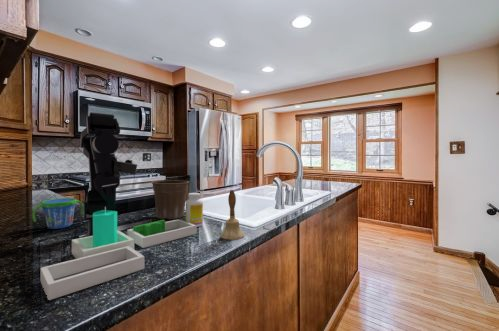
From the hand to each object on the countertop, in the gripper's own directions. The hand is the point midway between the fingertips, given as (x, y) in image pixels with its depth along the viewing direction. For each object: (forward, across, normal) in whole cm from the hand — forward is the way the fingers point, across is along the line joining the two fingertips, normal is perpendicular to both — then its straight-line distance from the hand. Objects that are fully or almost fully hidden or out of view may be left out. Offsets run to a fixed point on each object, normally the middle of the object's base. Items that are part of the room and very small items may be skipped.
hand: (113, 204), depth 75 cm
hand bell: (+18, -10, -34) cm, 40 cm away
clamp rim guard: (+14, 0, -13) cm, 19 cm away
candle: (+11, -8, +4) cm, 14 cm away
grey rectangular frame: (+11, -22, +5) cm, 25 cm away
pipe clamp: (+14, +2, -9) cm, 17 cm away
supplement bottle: (+17, +8, -25) cm, 32 cm away
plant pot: (+16, +28, -20) cm, 38 cm away
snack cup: (+10, +29, +21) cm, 37 cm away
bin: (+12, -9, +4) cm, 15 cm away
